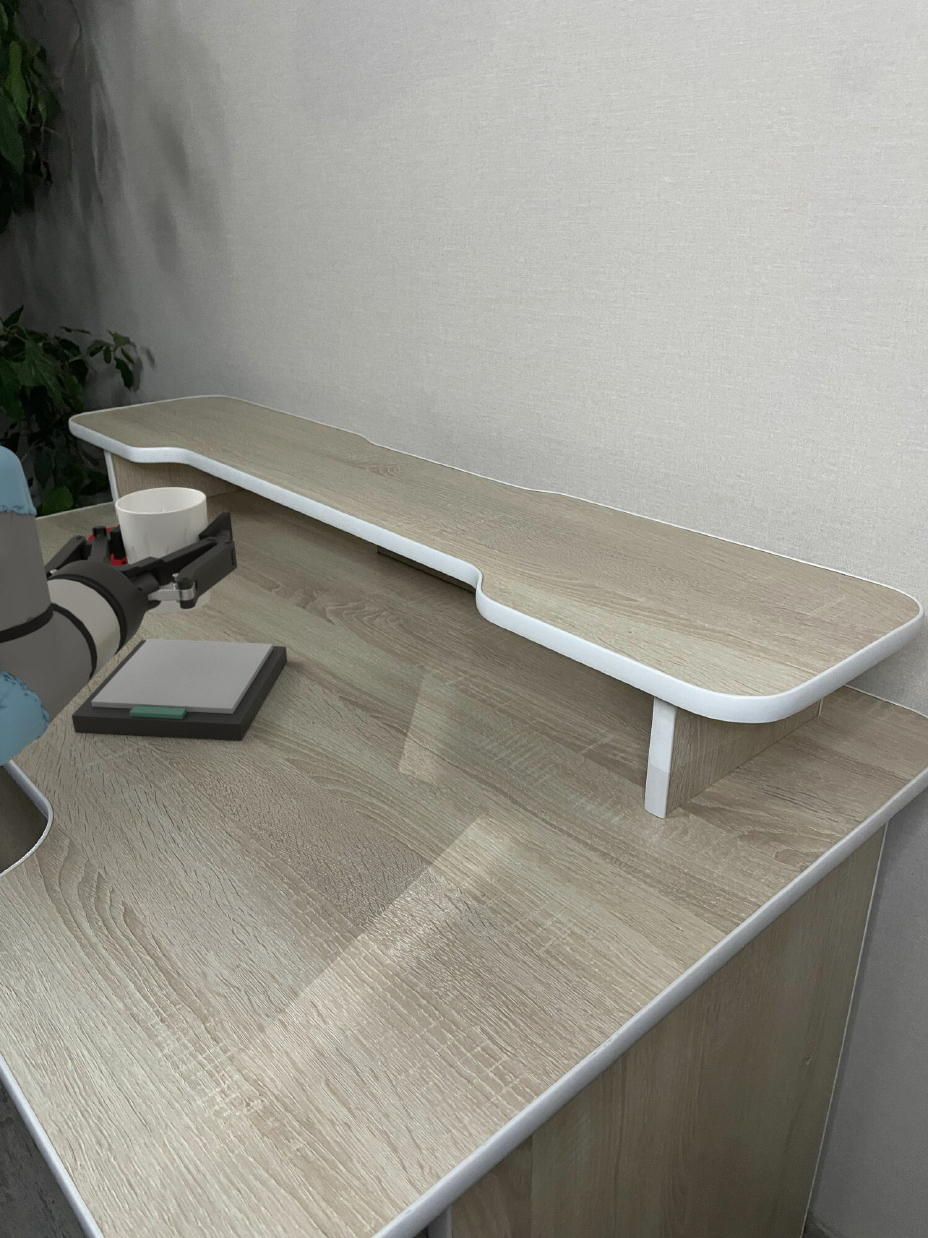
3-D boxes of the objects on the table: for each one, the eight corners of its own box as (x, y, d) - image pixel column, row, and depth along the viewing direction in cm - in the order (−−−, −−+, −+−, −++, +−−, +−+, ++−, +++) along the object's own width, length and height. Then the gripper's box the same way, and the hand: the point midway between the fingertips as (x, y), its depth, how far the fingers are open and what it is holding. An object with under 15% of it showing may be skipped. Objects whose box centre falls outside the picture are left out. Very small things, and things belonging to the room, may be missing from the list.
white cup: (235, 595, 90) (224, 495, 86) (172, 624, 84) (156, 518, 80) (178, 578, 94) (164, 482, 90) (113, 605, 88) (96, 503, 84)
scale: (74, 732, 87) (70, 709, 86) (143, 654, 102) (140, 634, 101) (241, 741, 86) (239, 718, 85) (287, 661, 101) (285, 641, 100)
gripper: (-43, 661, 73) (91, 556, 93) (213, 673, 71) (292, 563, 92) (-66, 571, 70) (78, 484, 90) (201, 581, 68) (286, 489, 88)
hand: (185, 524), depth 91 cm, fingers closed on white cup, 8 cm apart
